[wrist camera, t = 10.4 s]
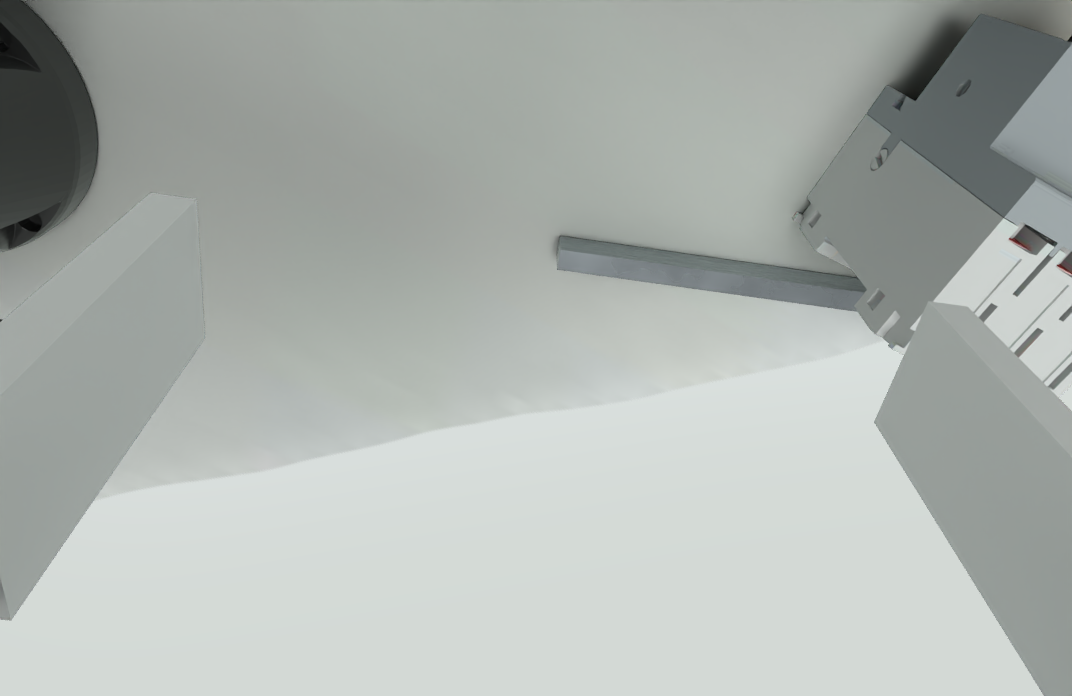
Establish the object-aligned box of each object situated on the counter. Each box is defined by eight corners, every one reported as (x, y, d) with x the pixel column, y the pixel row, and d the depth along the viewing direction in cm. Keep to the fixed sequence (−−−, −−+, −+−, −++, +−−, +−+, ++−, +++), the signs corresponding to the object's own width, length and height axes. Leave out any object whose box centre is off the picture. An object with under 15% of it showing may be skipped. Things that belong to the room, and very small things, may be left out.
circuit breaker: (1086, 43, 41) (1337, 121, 28) (899, 274, 47) (1030, 426, 34) (969, -32, 39) (1177, 13, 26) (792, 218, 46) (887, 354, 33)
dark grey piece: (556, 254, 47) (558, 443, 31) (630, -174, 36) (686, -211, 21) (974, 313, 48) (1174, 522, 33) (1160, -83, 38) (1584, -54, 22)
